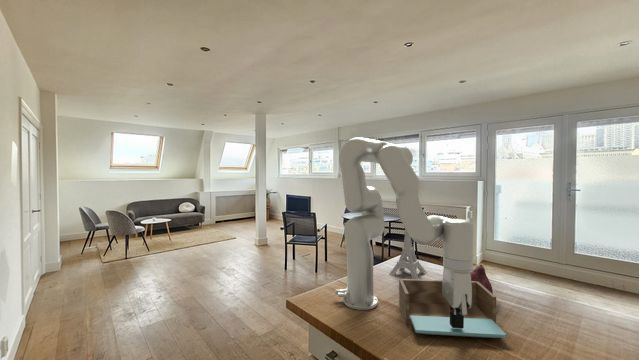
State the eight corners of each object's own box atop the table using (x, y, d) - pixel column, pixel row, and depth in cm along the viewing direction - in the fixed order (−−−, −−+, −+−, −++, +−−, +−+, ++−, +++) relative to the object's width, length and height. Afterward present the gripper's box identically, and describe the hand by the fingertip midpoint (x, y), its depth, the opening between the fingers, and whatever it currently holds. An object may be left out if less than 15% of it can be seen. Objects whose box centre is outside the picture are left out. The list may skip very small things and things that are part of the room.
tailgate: (409, 319, 85) (415, 334, 77) (409, 315, 85) (415, 329, 77) (491, 323, 83) (506, 340, 75) (491, 319, 82) (506, 334, 75)
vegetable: (496, 313, 98) (507, 277, 93) (465, 306, 100) (474, 271, 95) (486, 293, 107) (495, 260, 103) (457, 288, 109) (466, 255, 105)
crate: (405, 323, 86) (405, 293, 85) (399, 305, 97) (399, 278, 97) (496, 328, 82) (496, 297, 82) (478, 308, 94) (478, 281, 94)
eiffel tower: (426, 272, 129) (426, 209, 129) (417, 281, 119) (417, 213, 118) (399, 267, 137) (399, 207, 137) (388, 275, 127) (388, 210, 126)
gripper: (435, 254, 85) (435, 312, 86) (453, 272, 70) (452, 341, 71) (461, 255, 84) (460, 313, 85) (484, 273, 69) (483, 344, 70)
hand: (456, 326), depth 78 cm, fingers closed
